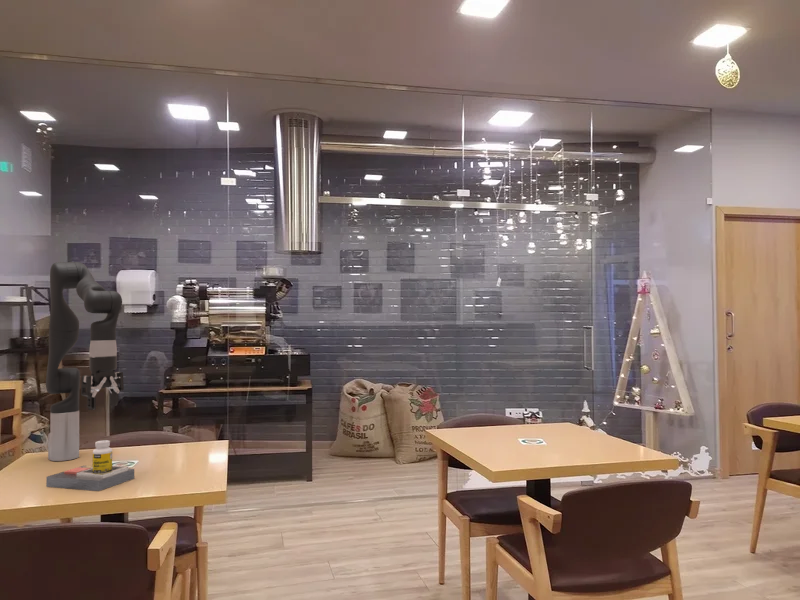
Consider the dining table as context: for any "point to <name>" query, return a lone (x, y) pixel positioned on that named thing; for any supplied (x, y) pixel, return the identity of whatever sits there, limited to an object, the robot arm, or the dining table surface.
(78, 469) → the button
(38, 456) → the dining table surface
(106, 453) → the supplement bottle
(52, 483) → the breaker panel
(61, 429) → the robot arm
